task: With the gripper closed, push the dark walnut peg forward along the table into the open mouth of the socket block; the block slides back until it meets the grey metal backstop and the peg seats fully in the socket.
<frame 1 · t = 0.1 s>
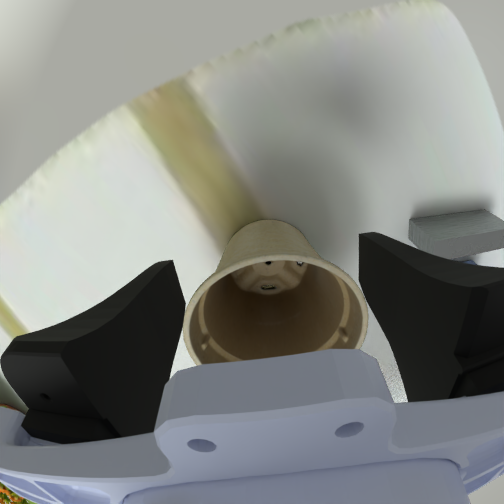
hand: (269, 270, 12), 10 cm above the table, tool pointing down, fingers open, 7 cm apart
socket block: (451, 307, 23), point 2 cm above the table, slide at 0.0 cm
flower pot: (268, 258, 23), on the table
backstop: (450, 223, 22), on the table
potted flower: (18, 419, 36), on the table
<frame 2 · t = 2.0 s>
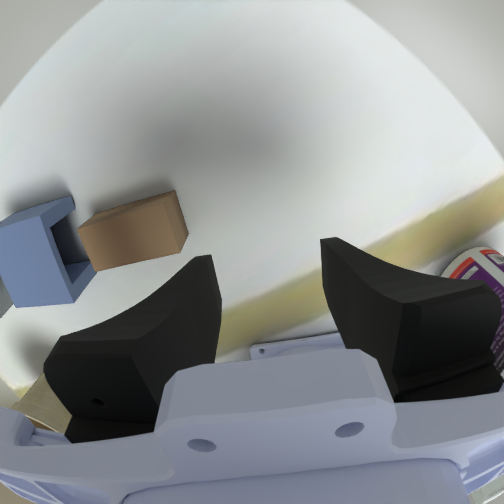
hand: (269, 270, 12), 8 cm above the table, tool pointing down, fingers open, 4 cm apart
socket block: (39, 253, 18), point 2 cm above the table, slide at 0.0 cm
flower pot: (75, 378, 28), on the table
walnut peg: (140, 222, 20), on the table
backstop: (1, 253, 21), on the table
pill bottle: (464, 283, 23), on the table
skincare box: (474, 454, 41), on the table
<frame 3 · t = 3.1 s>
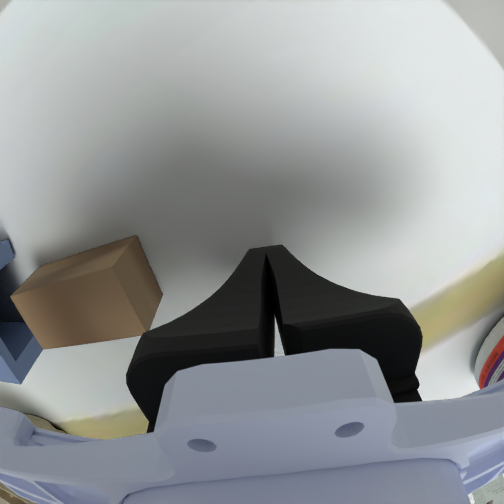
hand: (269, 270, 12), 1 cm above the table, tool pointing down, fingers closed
flower pot: (50, 432, 21), on the table
walnut peg: (97, 278, 14), on the table
skincare box: (485, 481, 35), on the table
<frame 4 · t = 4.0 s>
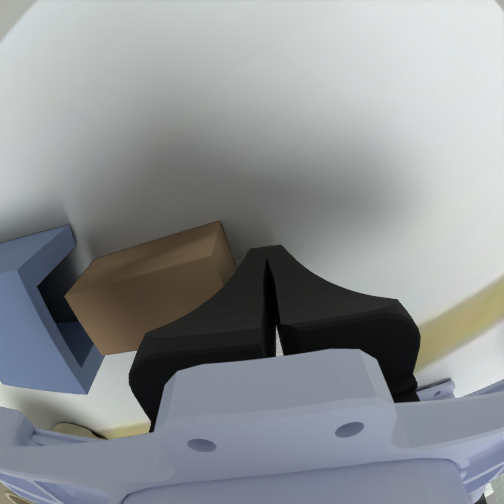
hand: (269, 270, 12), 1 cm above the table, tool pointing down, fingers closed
small box: (460, 503, 42), on the table
socket block: (27, 313, 12), point 2 cm above the table, slide at 0.0 cm
flower pot: (87, 440, 21), on the table
walnut peg: (165, 272, 13), on the table, touching gripper
skincare box: (503, 471, 34), on the table
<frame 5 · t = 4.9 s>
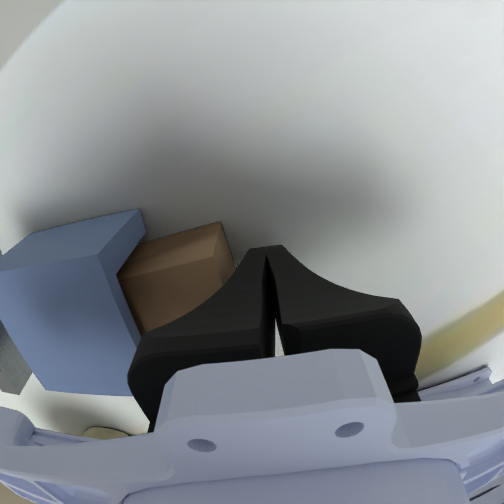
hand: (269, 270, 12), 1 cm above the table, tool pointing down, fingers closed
socket block: (82, 308, 11), point 2 cm above the table, slide at 0.0 cm
flower pot: (120, 444, 20), on the table
walnut peg: (164, 272, 13), on the table, touching gripper
backstop: (9, 292, 14), on the table
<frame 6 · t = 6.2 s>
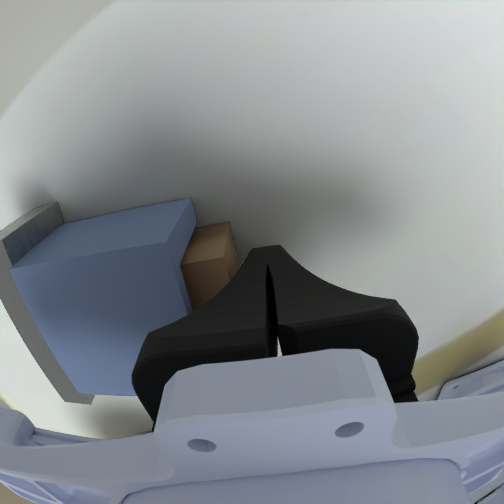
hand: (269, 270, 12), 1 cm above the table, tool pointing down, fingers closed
socket block: (125, 304, 11), point 2 cm above the table, slide at 3.0 cm, touching backstop, walnut peg
walnut peg: (167, 268, 13), on the table, touching gripper, socket block
backstop: (73, 283, 13), on the table
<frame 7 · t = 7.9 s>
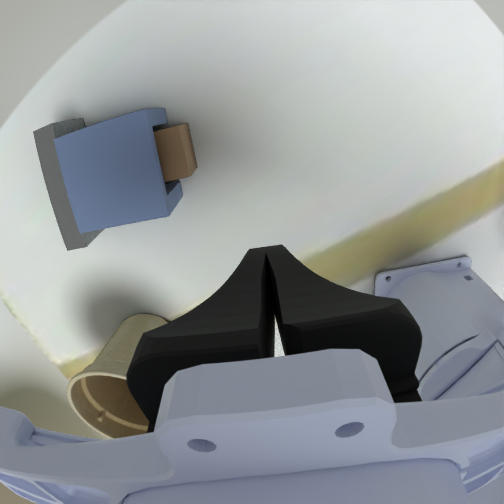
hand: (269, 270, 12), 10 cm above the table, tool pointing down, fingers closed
socket block: (120, 168, 18), point 2 cm above the table, slide at 3.0 cm
flower pot: (153, 338, 27), on the table
walnut peg: (150, 155, 20), on the table
backstop: (86, 174, 20), on the table
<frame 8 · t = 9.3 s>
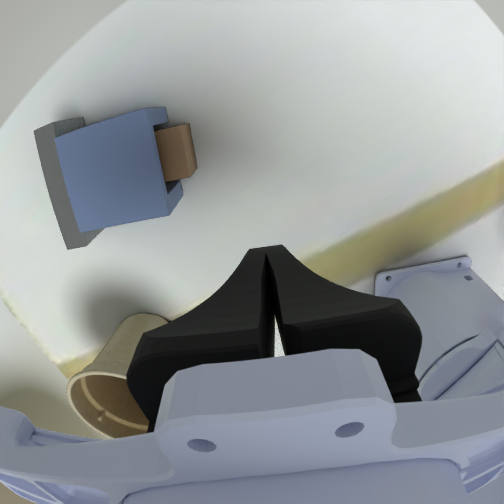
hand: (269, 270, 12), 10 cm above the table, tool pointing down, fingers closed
socket block: (120, 167, 18), point 2 cm above the table, slide at 3.0 cm
flower pot: (153, 338, 27), on the table
walnut peg: (150, 154, 20), on the table
backstop: (86, 173, 20), on the table
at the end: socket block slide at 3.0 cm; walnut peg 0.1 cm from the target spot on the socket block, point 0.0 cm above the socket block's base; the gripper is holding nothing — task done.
